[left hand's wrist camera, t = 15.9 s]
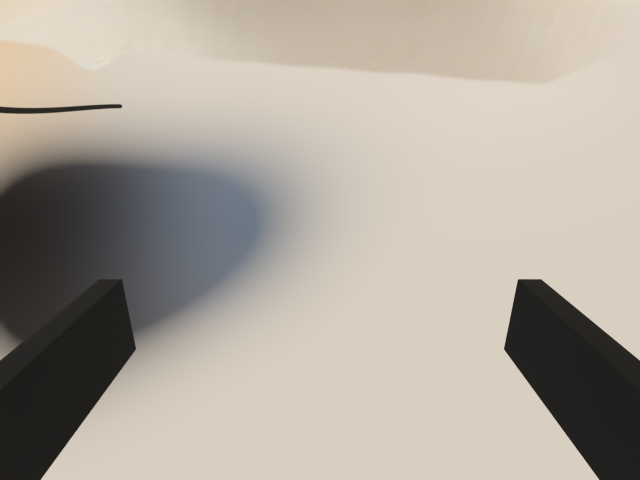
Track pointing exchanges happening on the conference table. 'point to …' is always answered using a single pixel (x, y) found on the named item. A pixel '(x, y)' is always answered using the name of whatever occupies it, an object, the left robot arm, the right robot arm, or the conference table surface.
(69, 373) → the left robot arm
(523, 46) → the conference table surface
